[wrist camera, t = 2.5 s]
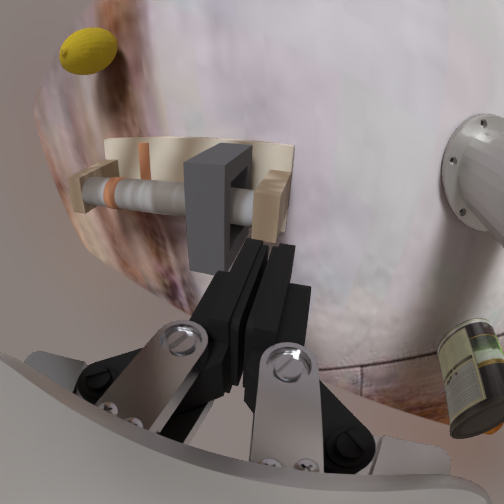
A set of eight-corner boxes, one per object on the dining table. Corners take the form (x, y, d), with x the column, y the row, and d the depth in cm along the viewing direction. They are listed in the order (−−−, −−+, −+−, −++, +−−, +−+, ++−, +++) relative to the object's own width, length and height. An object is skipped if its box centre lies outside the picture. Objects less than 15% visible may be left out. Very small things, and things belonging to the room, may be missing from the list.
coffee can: (492, 307, 28) (525, 387, 16) (493, 347, 31) (514, 418, 19) (431, 335, 33) (448, 422, 21) (440, 371, 36) (451, 445, 24)
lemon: (115, 80, 25) (64, 86, 19) (89, 61, 24) (40, 65, 17) (139, 41, 22) (88, 36, 16) (111, 24, 21) (61, 19, 15)
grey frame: (252, 145, 24) (224, 165, 18) (248, 233, 29) (224, 277, 23) (220, 142, 25) (183, 162, 18) (220, 228, 29) (189, 270, 23)
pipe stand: (294, 145, 25) (283, 163, 19) (285, 229, 30) (272, 269, 24) (108, 138, 29) (63, 155, 23) (115, 205, 34) (78, 232, 28)
